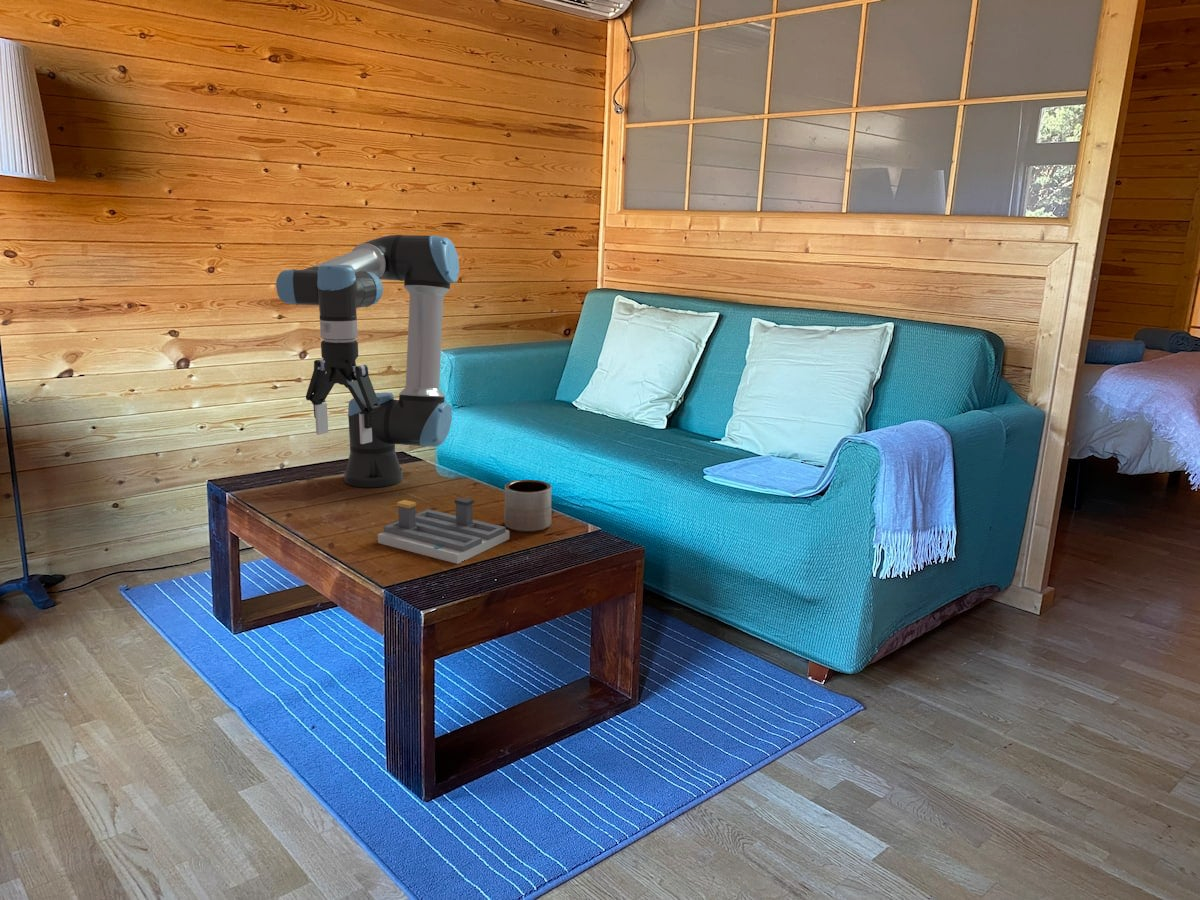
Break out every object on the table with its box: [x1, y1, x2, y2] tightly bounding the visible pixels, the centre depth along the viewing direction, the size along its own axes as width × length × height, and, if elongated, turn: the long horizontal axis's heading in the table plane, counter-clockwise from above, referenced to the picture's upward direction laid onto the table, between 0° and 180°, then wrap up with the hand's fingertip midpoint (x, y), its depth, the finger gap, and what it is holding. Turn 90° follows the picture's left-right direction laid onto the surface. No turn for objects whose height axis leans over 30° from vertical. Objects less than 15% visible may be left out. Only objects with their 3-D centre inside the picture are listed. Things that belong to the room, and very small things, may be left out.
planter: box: [503, 479, 552, 533], centre depth 209 cm, size 11×11×10 cm
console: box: [377, 508, 510, 564], centre depth 198 cm, size 18×22×3 cm
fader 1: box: [396, 499, 418, 531], centre depth 197 cm, size 2×4×6 cm, turn 60°
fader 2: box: [454, 497, 475, 528], centre depth 200 cm, size 2×4×6 cm, turn 59°
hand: (343, 438), depth 195 cm, fingers open, 13 cm apart
